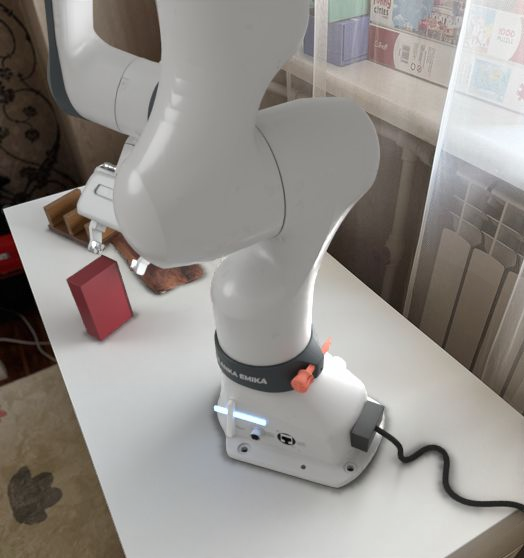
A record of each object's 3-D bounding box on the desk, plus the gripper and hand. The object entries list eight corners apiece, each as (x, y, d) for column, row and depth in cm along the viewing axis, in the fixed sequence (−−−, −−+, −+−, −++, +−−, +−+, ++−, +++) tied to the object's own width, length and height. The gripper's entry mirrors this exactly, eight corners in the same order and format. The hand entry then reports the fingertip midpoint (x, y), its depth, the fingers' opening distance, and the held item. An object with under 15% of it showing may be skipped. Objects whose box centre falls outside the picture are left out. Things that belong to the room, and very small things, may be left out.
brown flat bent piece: (98, 223, 106) (142, 201, 108) (102, 232, 107) (146, 210, 110) (154, 293, 90) (205, 266, 92) (158, 303, 92) (208, 275, 94)
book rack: (130, 229, 106) (124, 205, 102) (96, 252, 101) (88, 228, 97) (84, 209, 112) (76, 186, 108) (49, 230, 107) (40, 207, 103)
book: (133, 315, 88) (117, 261, 80) (101, 341, 84) (80, 287, 76) (120, 308, 89) (102, 254, 81) (87, 333, 85) (65, 279, 77)
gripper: (84, 151, 82) (54, 236, 83) (183, 186, 73) (147, 281, 74) (113, 166, 87) (85, 246, 89) (209, 201, 78) (175, 288, 80)
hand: (114, 262), depth 82 cm, fingers open, 8 cm apart
